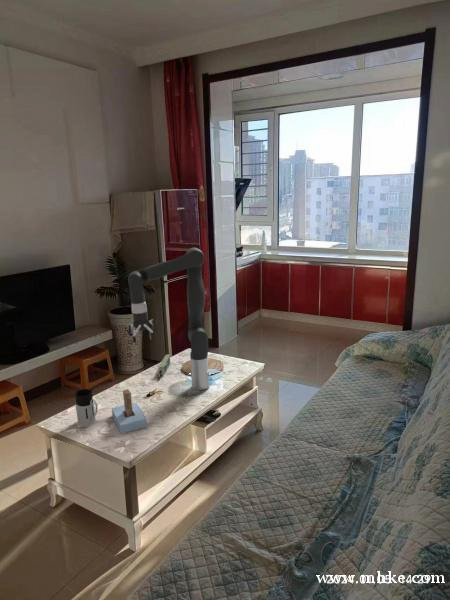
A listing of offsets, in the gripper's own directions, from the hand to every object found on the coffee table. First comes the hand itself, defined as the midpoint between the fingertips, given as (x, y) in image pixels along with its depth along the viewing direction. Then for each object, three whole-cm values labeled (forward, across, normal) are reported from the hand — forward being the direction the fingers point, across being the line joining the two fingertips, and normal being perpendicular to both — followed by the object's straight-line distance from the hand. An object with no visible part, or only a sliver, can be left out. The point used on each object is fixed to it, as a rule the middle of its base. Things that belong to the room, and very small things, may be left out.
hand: (143, 341), depth 223 cm
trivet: (+31, +38, +17) cm, 51 cm away
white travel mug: (+28, -34, -18) cm, 47 cm away
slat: (+28, -17, -24) cm, 41 cm away
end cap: (+29, -17, -24) cm, 41 cm away
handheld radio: (+30, +15, +23) cm, 41 cm away
